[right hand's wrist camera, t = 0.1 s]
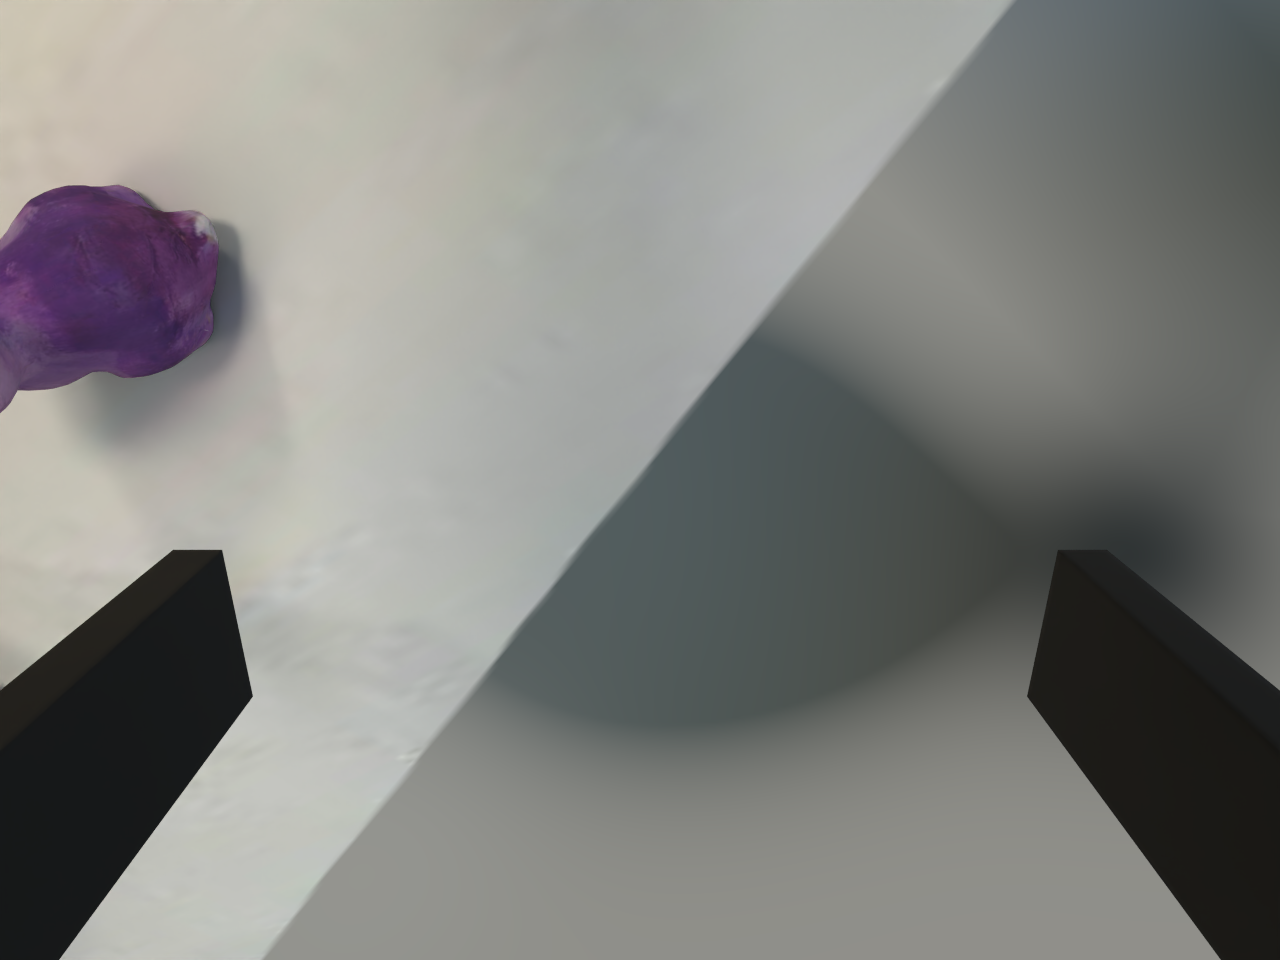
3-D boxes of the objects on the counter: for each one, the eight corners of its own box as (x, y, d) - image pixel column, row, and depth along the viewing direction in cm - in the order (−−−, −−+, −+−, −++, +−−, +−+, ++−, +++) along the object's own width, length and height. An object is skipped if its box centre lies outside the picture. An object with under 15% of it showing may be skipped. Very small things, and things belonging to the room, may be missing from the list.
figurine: (35, 375, 40) (-294, 487, 26) (26, 160, 36) (-362, 153, 22) (228, 417, 40) (10, 547, 26) (238, 210, 37) (-7, 234, 23)
